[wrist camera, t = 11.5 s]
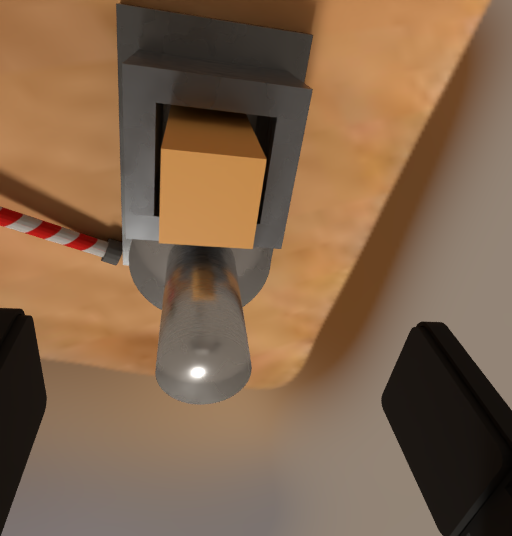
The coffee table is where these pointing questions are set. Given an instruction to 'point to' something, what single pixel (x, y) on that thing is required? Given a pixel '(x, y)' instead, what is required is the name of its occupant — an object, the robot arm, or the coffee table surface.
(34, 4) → the coffee table surface
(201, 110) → the orange rectangular block
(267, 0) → the coffee table surface
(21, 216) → the toy hammer
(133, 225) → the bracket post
